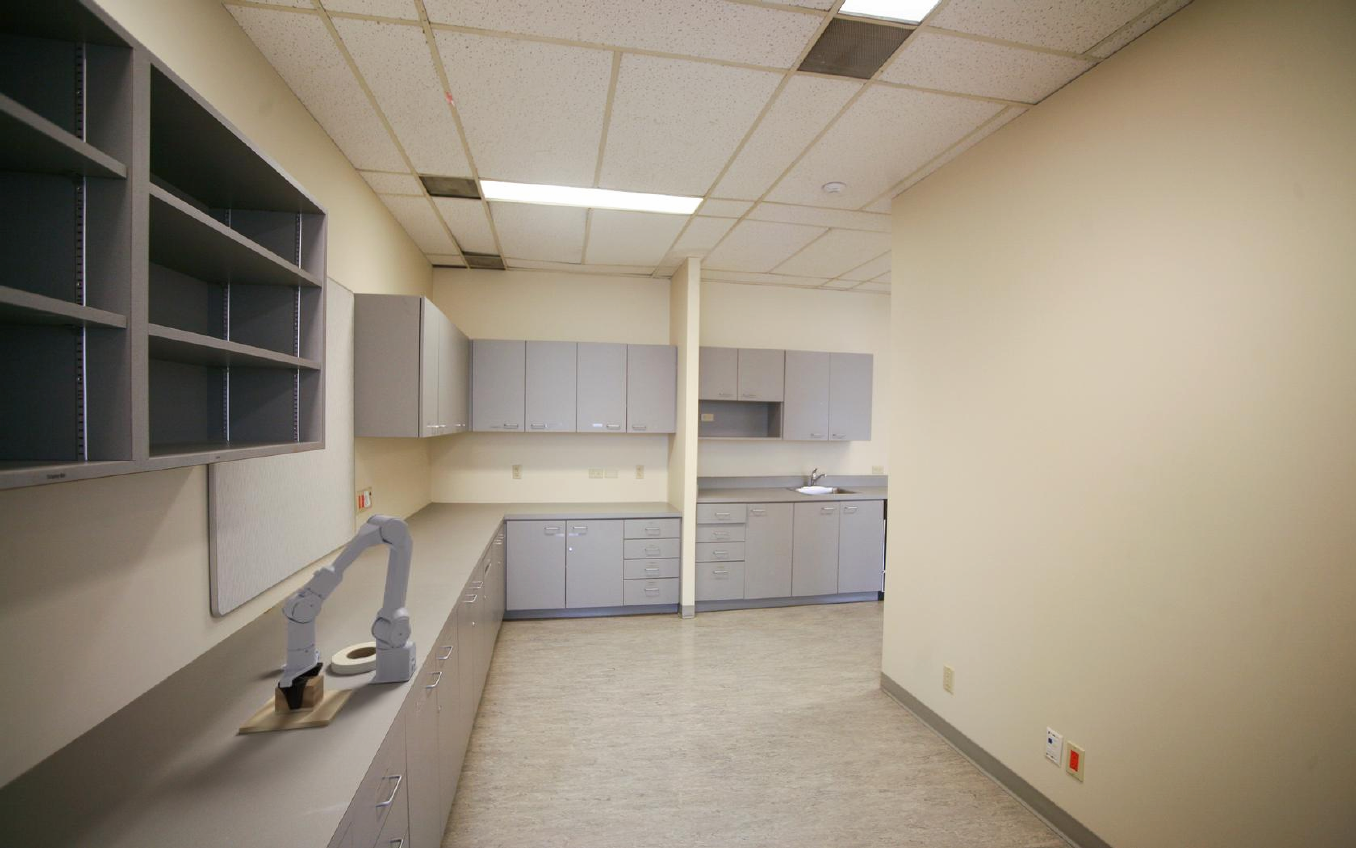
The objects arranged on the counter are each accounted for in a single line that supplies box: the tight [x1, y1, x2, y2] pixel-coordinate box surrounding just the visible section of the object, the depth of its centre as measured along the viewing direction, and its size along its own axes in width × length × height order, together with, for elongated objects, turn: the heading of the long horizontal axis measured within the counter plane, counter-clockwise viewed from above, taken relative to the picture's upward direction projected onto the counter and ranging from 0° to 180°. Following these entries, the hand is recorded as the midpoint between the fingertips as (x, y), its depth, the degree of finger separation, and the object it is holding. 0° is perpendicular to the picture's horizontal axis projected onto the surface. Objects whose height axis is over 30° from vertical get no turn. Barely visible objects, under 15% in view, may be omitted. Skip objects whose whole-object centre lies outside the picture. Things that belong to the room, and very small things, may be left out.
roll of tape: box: [330, 641, 376, 675], centre depth 151 cm, size 16×15×3 cm
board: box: [238, 688, 355, 734], centre depth 124 cm, size 18×14×1 cm
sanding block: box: [274, 674, 325, 714], centre depth 124 cm, size 8×5×6 cm, turn 101°
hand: (301, 702), depth 124 cm, fingers closed on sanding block, 5 cm apart
